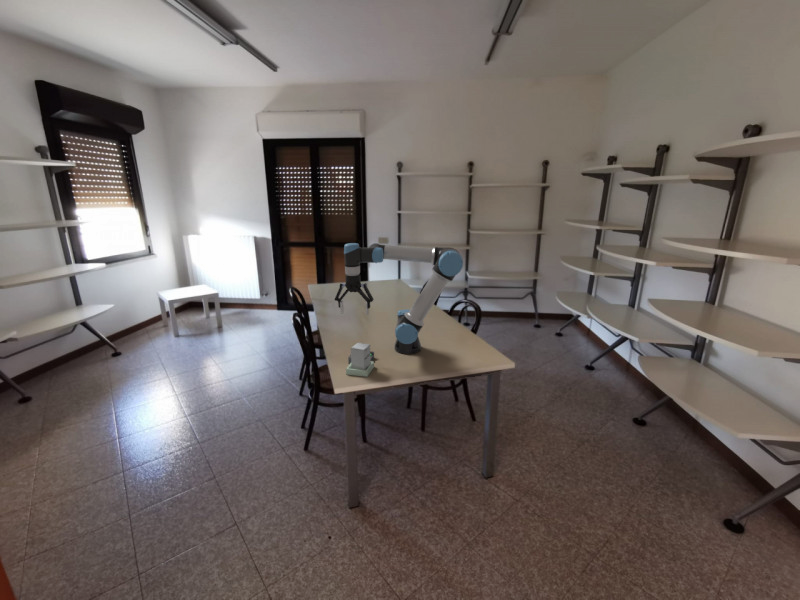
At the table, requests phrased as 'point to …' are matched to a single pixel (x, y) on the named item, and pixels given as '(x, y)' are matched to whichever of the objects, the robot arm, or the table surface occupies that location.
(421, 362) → the table surface
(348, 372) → the trough tray
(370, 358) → the dark gray open-sided tray
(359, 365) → the supplement box
